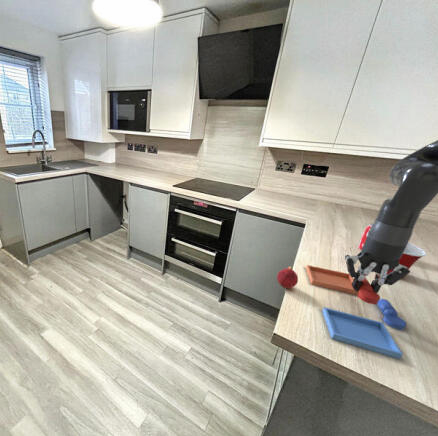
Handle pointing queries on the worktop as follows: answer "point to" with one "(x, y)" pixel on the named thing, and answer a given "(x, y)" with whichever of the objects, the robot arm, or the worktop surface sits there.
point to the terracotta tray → (331, 279)
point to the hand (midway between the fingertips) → (363, 291)
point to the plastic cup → (410, 256)
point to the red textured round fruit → (287, 278)
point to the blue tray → (361, 332)
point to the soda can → (364, 237)
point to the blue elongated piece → (390, 315)
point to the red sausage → (368, 293)
